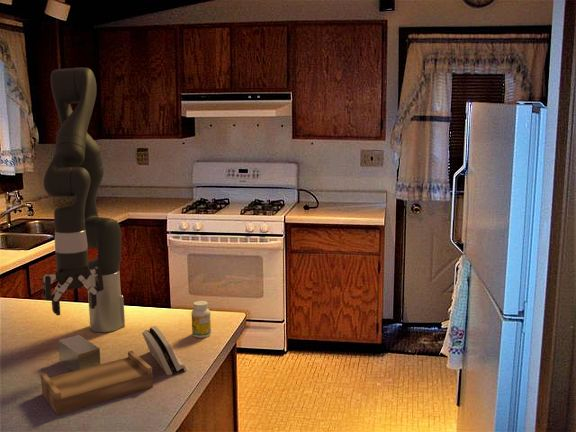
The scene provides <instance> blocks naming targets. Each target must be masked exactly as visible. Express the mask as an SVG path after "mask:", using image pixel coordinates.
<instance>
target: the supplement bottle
mask: <svg viewBox="0 0 576 432" xmlns="http://www.w3.org/2000/svg"><path fill="white" fill-rule="evenodd" d="M208 306H209V303H208V301H206V300H197V301H194V302H193V310H192V311H191V334H192V337H194V338H199V339H204V338H207V337H209V336H210V335H211V333H212V326H211V325H212V322H211V321H212V320H211V310H210V309H209V307H208Z"/></svg>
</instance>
